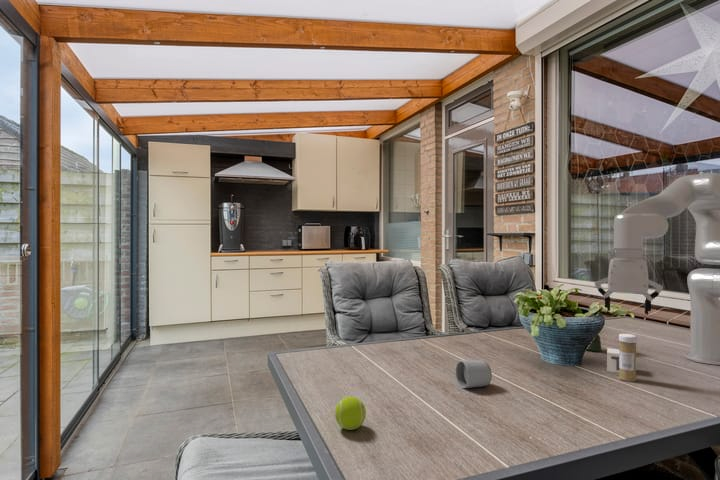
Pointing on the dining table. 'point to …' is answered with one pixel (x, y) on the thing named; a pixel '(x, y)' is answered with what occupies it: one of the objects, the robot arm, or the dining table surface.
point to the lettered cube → (613, 360)
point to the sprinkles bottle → (627, 357)
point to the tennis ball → (350, 413)
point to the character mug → (596, 343)
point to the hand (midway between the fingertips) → (627, 311)
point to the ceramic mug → (473, 373)
